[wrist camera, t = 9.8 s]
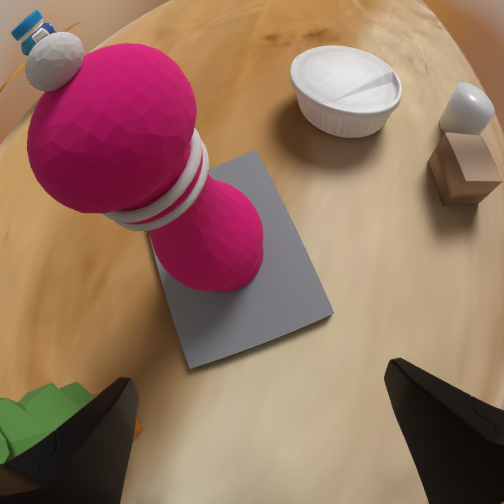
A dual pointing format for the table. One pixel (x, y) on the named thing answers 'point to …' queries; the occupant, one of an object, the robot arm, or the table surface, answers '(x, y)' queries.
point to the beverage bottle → (32, 31)
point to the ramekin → (345, 90)
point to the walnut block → (463, 169)
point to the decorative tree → (40, 416)
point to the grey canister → (466, 111)
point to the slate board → (256, 291)
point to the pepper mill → (138, 158)
